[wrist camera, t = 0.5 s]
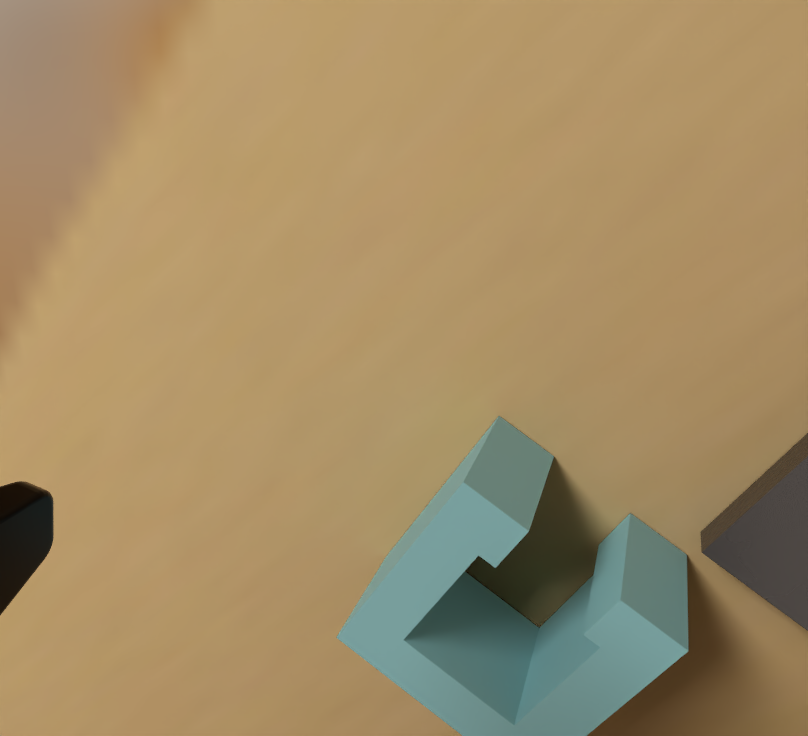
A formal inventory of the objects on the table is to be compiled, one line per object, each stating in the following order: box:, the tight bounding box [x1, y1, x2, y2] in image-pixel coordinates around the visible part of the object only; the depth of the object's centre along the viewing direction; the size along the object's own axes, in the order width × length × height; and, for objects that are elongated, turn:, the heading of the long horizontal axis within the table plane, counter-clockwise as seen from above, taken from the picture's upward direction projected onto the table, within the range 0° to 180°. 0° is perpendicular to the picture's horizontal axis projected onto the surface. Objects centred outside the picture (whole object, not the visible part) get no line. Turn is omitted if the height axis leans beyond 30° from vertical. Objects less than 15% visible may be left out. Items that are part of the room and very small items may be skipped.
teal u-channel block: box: [336, 416, 688, 736], centre depth 21 cm, size 6×6×4 cm
